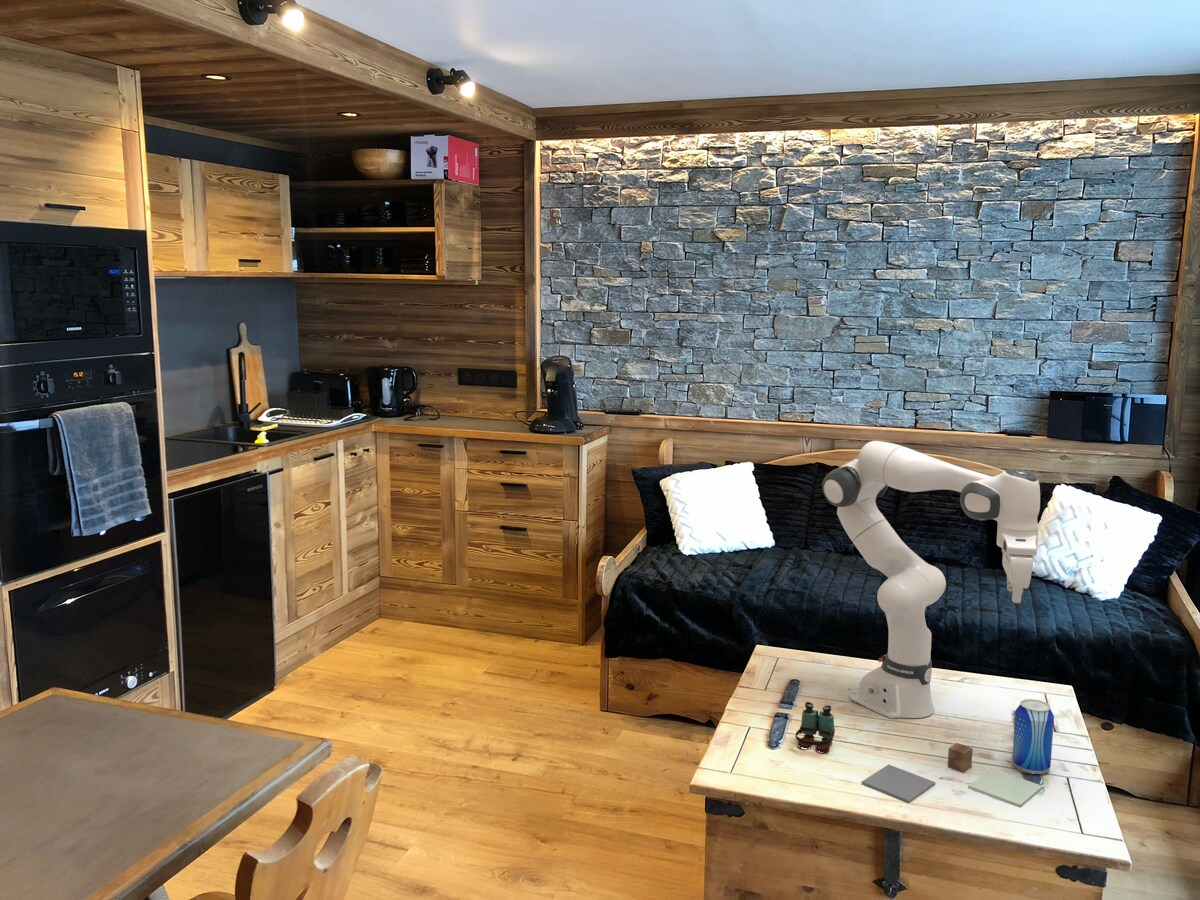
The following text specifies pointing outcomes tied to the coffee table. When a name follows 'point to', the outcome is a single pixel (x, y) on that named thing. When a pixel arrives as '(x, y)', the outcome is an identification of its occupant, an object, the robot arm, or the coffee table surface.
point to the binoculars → (816, 727)
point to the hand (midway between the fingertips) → (1013, 596)
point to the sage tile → (1005, 787)
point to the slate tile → (898, 783)
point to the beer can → (1033, 736)
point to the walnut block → (960, 757)
